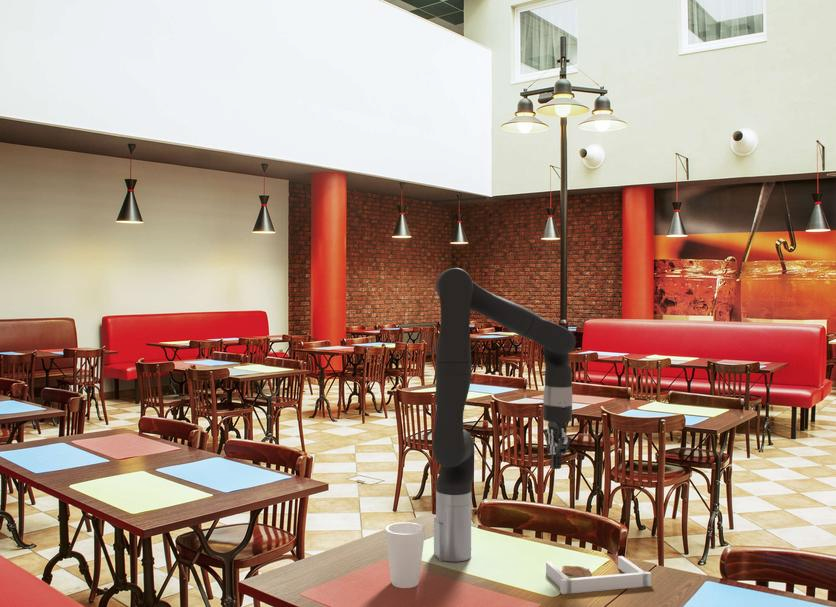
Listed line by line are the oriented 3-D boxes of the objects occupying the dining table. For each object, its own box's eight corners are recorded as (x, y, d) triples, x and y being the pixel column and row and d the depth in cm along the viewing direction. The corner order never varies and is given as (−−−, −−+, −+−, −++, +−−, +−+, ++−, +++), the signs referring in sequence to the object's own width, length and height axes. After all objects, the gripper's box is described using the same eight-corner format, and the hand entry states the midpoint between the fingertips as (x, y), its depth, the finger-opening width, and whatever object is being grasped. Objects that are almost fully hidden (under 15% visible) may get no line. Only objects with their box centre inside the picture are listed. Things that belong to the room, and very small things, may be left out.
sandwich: (594, 591, 173) (595, 583, 173) (561, 589, 174) (561, 581, 174) (589, 573, 183) (589, 566, 183) (558, 572, 184) (558, 565, 184)
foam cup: (430, 578, 179) (430, 524, 179) (417, 592, 170) (417, 536, 170) (393, 573, 182) (393, 520, 182) (379, 587, 173) (379, 532, 173)
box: (562, 594, 170) (562, 581, 170) (542, 574, 181) (542, 562, 181) (651, 586, 174) (651, 573, 174) (625, 567, 186) (625, 555, 186)
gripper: (535, 399, 202) (533, 462, 202) (554, 407, 189) (552, 474, 189) (561, 399, 203) (559, 462, 203) (581, 406, 190) (579, 474, 190)
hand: (556, 468), depth 196 cm, fingers closed
